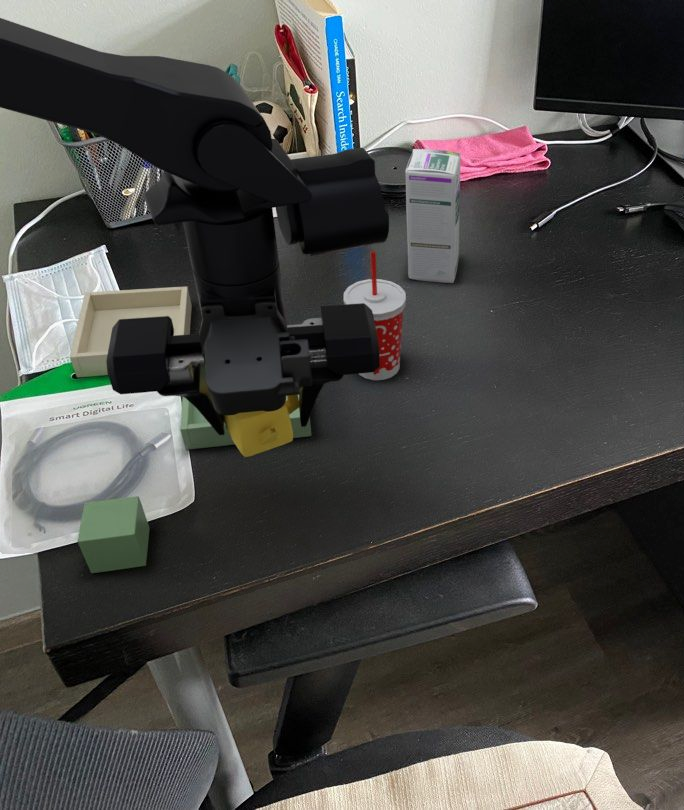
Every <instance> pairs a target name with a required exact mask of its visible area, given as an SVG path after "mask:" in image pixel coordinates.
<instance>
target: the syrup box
mask: <svg viewBox="0 0 684 810" xmlns="http://www.w3.org/2000/svg"><path fill="white" fill-rule="evenodd" d="M461 159H462V157H461V153H459V152H455V151H450V150H442V149H431V148H429V149H428V148H413V149H412V152H411V154H410V158H409V159H408V161H407V165H406V168H405V172H404V173H405V207H406V208H405V209H406V211H405V213H406V242H407V243H406V244H407V245H406V246H407V247H406V249H407V277H408V279H410V280H415V281H422V282H434V283H445V284H446V283H447V284H454V282H455V280H456V275H457V271H458V265H459V261H460V228H461V227H460V225H461V224H460V223H461V221H460V220H461V219H460V218H461V217H460V216H461V165H462V163H461Z"/></svg>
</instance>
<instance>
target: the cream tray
mask: <svg viewBox="0 0 684 810" xmlns="http://www.w3.org/2000/svg"><path fill="white" fill-rule="evenodd" d="M192 309H193V307H192V300H191V296H190V291H189V287H188V286H172V287H169V286H168V287H154V288H137V289H136V288H135V289H122V290H121V289H120V290H119V289H118V290H103V291H90V292H89V291H88V292H87V291H86V292H84V295H83V299H82V304H81V308H80V312H79V316H78V319H77V320H78V321H77V324H76V329H75V333H74V338H73V342H72V345H71V346H72V347H71V350H70V355H69V360H70V362H71V364H72V365H71V366H72V368H73V370H74V373H75V376H76V378H88V377H90V378H91V377H100V376H101V377H102V376H108V373H107V363H106V360H107V355H108V349H109V343H110V338H111V332H112V328H113V326H114V325H115V324H116V323H117V321H118V320H119V319H132V318H147V317H162V316H169V317H170V318H171V319H172V323H173V327H174V335H173V336H175V335H189V334H191V321H192Z"/></svg>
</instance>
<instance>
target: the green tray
mask: <svg viewBox="0 0 684 810" xmlns="http://www.w3.org/2000/svg"><path fill="white" fill-rule="evenodd" d="M298 399H299V395H298ZM286 401H287V396H286ZM181 402H182V403H181V416H180V428H179V430H180V433H181V438H182V441H183V445H184V449H185V451H189V450H198V449H205V448H213V447H215V448H217V447H223V446H224V447H225V446H232V445H235V443H234V442H233V440H232V438H231V436H230V434H229V432H228V430H227V428H226V426H225V434H224V435H219V434H218V433H217V432H216V431H215V430H214V428H213V427H212V426H211V425H210V424H209V423H208V421H207V420H206V419H205V418H204V417H203V415H202V414H201V413H200V412H199V411H198V409H197V408H196V407H195V406H194V405H193V404H191V403H190V402H189V401H188V400H187V399H186V398H184V397H182V400H181ZM289 417H290V420H291V424H292V429H293V439H297V438H307V437H312V426H311V416H310V417H309V420H308V423H307V426H305V427H301V422H300V412H299V408H298V409H296V410H295V411H294V412H292V413H291V414H290V415H289ZM224 425H225V423H224Z"/></svg>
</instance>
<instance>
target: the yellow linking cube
mask: <svg viewBox="0 0 684 810" xmlns="http://www.w3.org/2000/svg"><path fill="white" fill-rule="evenodd" d="M298 408H299V399H298V395H289V396H287V401H286V402H285V404H284V405H283V407H282V408H280V409H278V410H276V411H269V412H266V411H255V412H244V413H238V414H236V415H223V419H224V423H225V426H226V428H227V430H228V432H229V434H230V436H231V438H232V440H233V442H234V443H235V444H234V445H235V446H236V448H237V449H238V451H239V452H240V454H241V455H242V456H243V457H244V458H248V457H253V456H255V455H258V454H260V453H264V452H266V451H267V452H268V451H269V450H272V449H275V448H278V447H280V446H281V447H282V446H284V445H286V444H289V443H291V442H293V440H294V438H293V429H292V424H291V420H290V417H289V415H290V414H291V413H292V412H294V411H295V410H296V409H298Z"/></svg>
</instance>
